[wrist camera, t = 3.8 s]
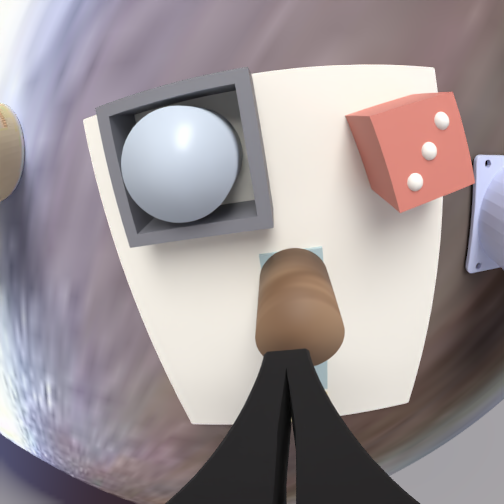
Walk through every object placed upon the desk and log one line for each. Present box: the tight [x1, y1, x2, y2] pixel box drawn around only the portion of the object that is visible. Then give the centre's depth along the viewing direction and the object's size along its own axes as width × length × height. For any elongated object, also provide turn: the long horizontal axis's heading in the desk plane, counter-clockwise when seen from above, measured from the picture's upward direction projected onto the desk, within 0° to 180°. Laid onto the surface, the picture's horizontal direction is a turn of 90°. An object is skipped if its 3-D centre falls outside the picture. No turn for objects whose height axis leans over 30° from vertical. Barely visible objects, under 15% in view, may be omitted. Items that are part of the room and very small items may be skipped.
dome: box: [121, 106, 243, 223], centre depth 13 cm, size 5×5×3 cm
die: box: [345, 92, 475, 213], centre depth 12 cm, size 4×4×4 cm
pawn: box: [255, 248, 345, 366], centre depth 15 cm, size 4×4×5 cm
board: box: [83, 65, 443, 425], centre depth 17 cm, size 19×25×4 cm
